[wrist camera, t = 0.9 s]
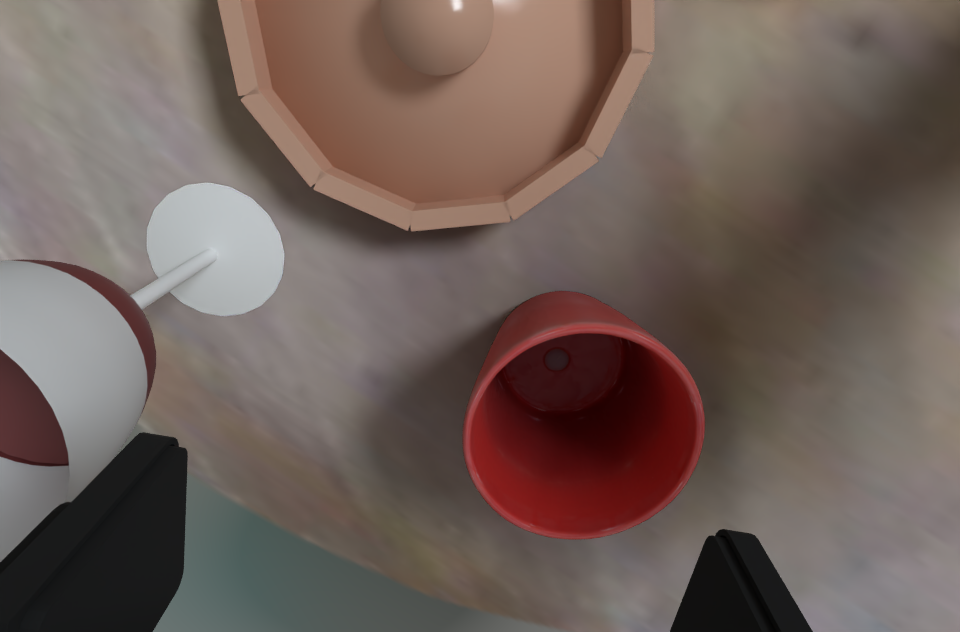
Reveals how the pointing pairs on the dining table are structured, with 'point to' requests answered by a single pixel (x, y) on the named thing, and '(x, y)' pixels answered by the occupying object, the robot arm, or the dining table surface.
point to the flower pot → (580, 420)
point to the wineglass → (110, 343)
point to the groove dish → (439, 97)
